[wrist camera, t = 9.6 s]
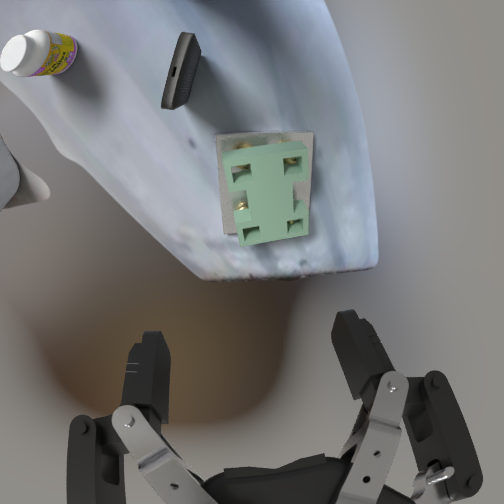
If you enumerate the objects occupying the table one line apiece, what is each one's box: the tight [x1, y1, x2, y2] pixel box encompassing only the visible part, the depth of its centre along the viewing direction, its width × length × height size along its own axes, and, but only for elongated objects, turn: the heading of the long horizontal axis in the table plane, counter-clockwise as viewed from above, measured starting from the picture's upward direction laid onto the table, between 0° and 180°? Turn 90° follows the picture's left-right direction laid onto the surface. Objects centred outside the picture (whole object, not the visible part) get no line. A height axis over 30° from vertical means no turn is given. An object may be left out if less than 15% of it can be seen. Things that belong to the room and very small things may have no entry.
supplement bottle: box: [0, 30, 77, 77], centre depth 19 cm, size 7×7×13 cm
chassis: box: [216, 131, 313, 234], centre depth 39 cm, size 14×16×5 cm
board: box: [222, 140, 309, 247], centre depth 37 cm, size 10×14×3 cm
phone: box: [161, 32, 201, 110], centre depth 25 cm, size 8×1×15 cm, turn 164°
